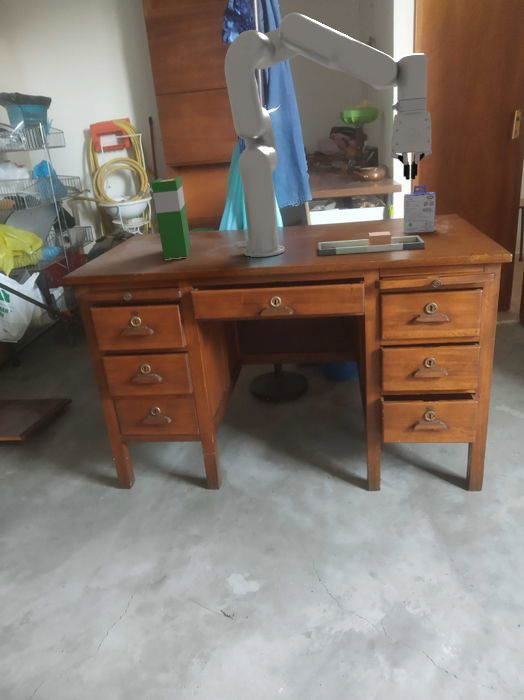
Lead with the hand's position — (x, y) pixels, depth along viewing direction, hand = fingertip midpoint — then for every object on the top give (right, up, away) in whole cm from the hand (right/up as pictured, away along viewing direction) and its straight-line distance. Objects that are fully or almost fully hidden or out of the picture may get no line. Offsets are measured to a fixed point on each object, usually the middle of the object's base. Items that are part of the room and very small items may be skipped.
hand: (410, 178), depth 145 cm
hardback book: (-70, -16, +29) cm, 77 cm away
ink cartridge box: (+10, -9, +26) cm, 29 cm away
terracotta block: (-7, -18, +8) cm, 21 cm away
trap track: (-10, -18, +9) cm, 22 cm away
